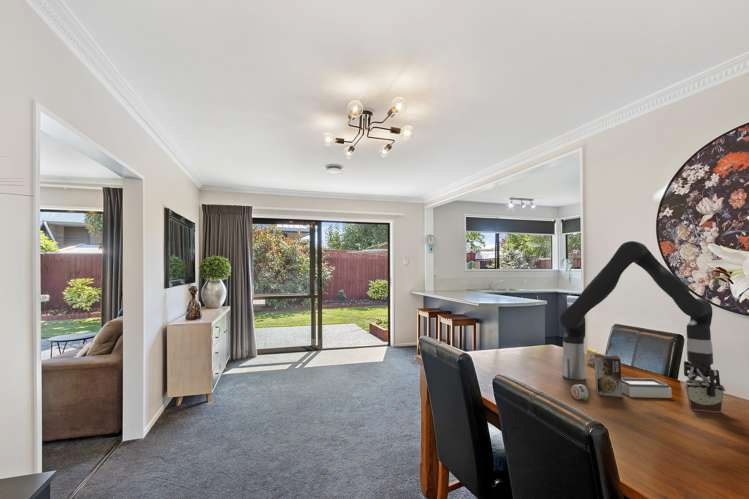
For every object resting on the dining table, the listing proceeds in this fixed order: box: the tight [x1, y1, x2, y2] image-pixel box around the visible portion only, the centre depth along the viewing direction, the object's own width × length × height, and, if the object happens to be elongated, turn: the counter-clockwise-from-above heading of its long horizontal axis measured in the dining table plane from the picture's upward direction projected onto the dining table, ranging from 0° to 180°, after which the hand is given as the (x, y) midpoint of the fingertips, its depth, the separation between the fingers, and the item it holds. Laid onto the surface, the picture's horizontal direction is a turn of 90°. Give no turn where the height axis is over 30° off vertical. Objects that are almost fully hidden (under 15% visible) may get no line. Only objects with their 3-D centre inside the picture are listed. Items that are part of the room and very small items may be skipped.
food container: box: [683, 379, 726, 414], centre depth 142 cm, size 12×6×10 cm, turn 71°
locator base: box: [621, 377, 672, 399], centre depth 158 cm, size 16×11×5 cm, turn 85°
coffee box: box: [594, 353, 623, 398], centre depth 158 cm, size 9×6×16 cm
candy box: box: [586, 348, 607, 367], centre depth 198 cm, size 16×2×8 cm, turn 6°
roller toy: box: [570, 383, 589, 401], centre depth 152 cm, size 4×6×6 cm
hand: (702, 392), depth 141 cm, fingers open, 8 cm apart
